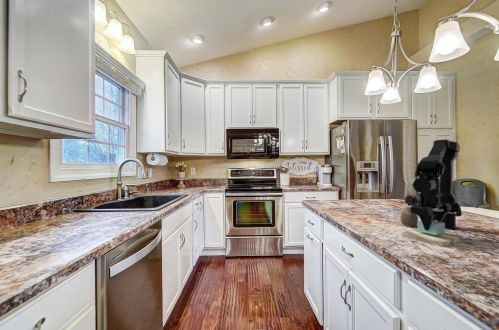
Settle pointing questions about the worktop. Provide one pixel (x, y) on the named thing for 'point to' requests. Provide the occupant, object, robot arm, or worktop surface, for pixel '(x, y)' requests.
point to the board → (433, 237)
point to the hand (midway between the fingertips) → (431, 229)
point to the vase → (409, 218)
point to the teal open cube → (432, 228)
